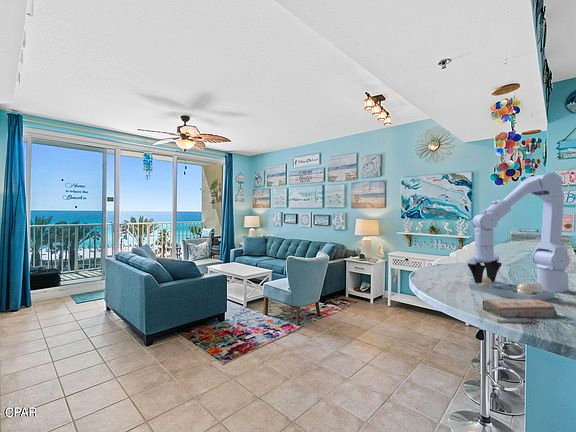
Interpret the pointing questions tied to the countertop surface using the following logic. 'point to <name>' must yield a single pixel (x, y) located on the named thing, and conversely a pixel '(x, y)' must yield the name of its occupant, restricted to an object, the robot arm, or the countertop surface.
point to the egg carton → (510, 291)
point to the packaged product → (515, 309)
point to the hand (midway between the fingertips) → (484, 281)
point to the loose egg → (486, 282)
